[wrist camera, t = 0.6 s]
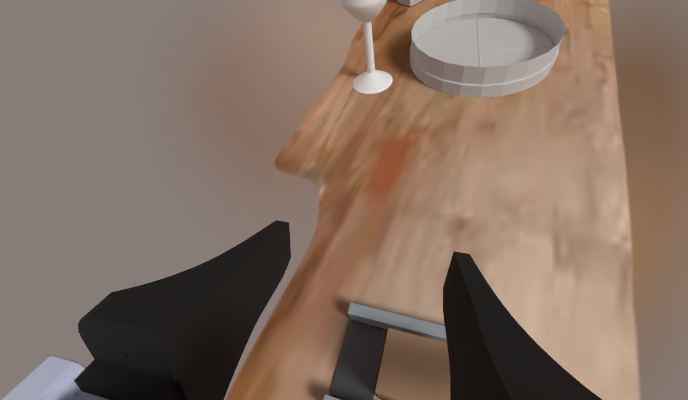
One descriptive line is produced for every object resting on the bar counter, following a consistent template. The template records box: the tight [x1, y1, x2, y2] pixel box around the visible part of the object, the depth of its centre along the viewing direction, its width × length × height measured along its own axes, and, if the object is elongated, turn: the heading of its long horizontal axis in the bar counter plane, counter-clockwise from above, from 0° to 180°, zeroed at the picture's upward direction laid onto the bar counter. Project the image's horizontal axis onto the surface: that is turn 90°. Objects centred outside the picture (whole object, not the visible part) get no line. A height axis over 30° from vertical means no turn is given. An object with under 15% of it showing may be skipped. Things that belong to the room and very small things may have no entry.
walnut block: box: [375, 328, 450, 400], centre depth 24 cm, size 4×5×5 cm
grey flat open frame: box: [323, 303, 447, 400], centre depth 25 cm, size 8×11×2 cm
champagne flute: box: [340, 0, 393, 94], centre depth 42 cm, size 7×7×24 cm
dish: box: [410, 0, 565, 98], centre depth 50 cm, size 22×22×5 cm
